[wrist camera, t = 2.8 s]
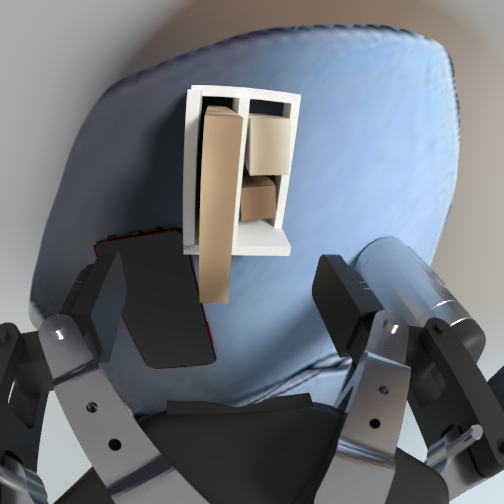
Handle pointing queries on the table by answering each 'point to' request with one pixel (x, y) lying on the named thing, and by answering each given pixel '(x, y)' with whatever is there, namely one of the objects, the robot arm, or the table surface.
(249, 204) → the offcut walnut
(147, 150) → the table surface
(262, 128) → the offcut maple
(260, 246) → the rack
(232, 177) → the tan rectangular block
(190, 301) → the smartphone
